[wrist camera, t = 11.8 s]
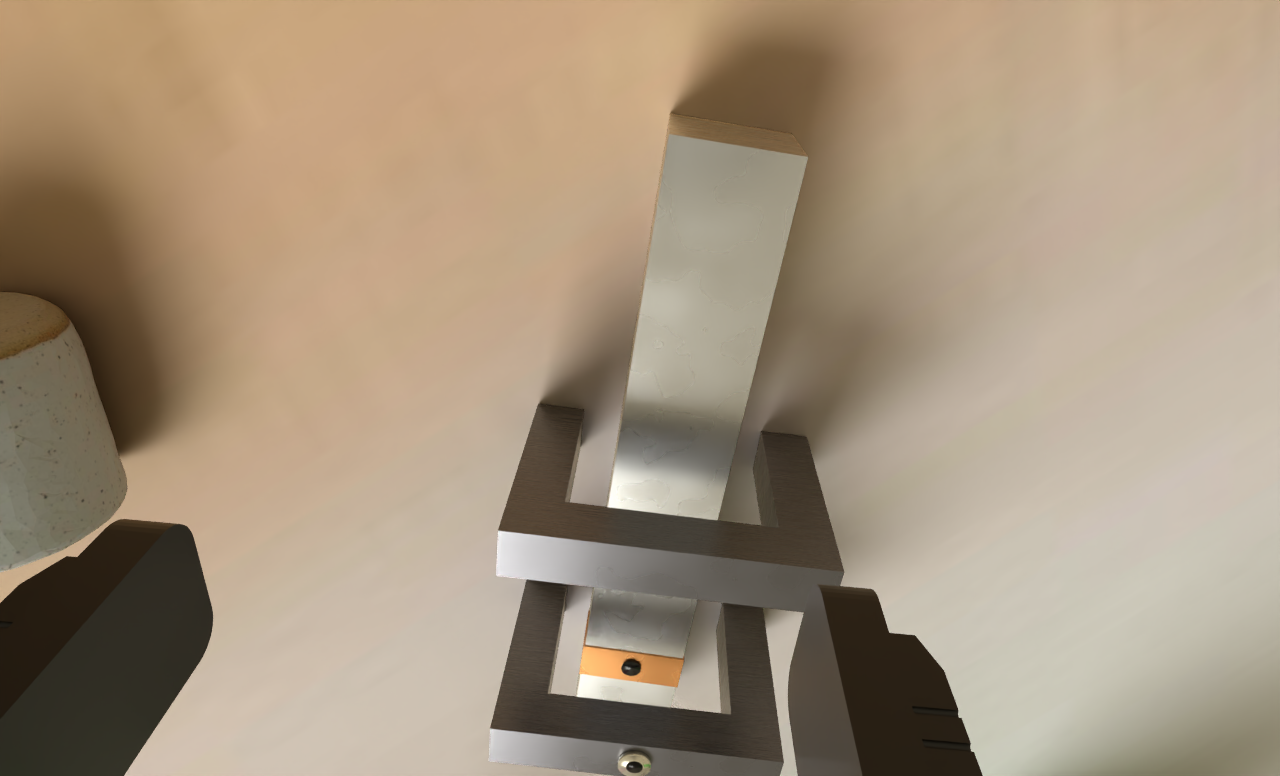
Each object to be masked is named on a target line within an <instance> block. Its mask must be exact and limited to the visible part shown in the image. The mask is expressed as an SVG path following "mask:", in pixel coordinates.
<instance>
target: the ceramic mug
mask: <svg viewBox="0 0 1280 776" xmlns="http://www.w3.org/2000/svg"><path fill="white" fill-rule="evenodd" d="M126 492H127V478H126V474H125V471H124V468H123V465H122V463H121V460H120V458H119V455H118V452H117V448H116V445H115V441H114V437H113V434H112V431H111V428H110V426H109V423H108V420H107V417H106V414H105V411H104V408H103V405H102V402H101V400H100V397H99V394H98V391H97V388H96V385H95V382H94V378H93V374H92V370H91V366H90V363H89V360H88V357H87V354H86V352H85V349H84V346H83V343H82V340H81V339H80V337H79V335H78V333H77V331H76V330H75V328H74V326H73V324H72V323H71V321H70V320H69V318H68V317H67V316H66V314H65V313H64V312H63V311H62V310H61V309H60V308H59V307H57V306H56V305H54V304H52V303H50V302H49V301H47V300H44V299H41V298H39V297H36V296H33V295H27V294H22V293H17V292H0V572H3V571H7V570H11V569H14V568H17V567H21V566H23V565H26V564H29V563H31V562H34V561H36V560H39V559H42V558H44V557H47V556H49V555H52V554H54V553H57V552H59V551H62V550H64V549H65V548H67V547H68V546H70V545H72V544H74V543H76V542H77V541H79V540H81V539H82V538H84V537H85V536H87V535H88V534H90V533H91V532H93V531H94V530H96V529H97V528H99V527H100V526H101V525H103V524H104V523H105V522H107V521H108V520H109V519H110V518H111V517H112V516H113V515H114V513H115V512H116V511H117V510H118V508H119V507H120V506H121V504H122V502H123V500H124V499H125V495H126Z"/></svg>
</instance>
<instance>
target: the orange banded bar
mask: <svg viewBox="0 0 1280 776" xmlns="http://www.w3.org/2000/svg"><path fill="white" fill-rule="evenodd" d="M807 160H808V156H807V155H806V153H805V152H804V150H803V149H802V147H801V146H800V145H799V143H798V142H797V140H796V139H795V138H794V136H793V135H792V133H786V132H780V131H774V130H768V129H762V128H756V127H750V126H744V125H738V124H732V123H725V122H719V121H713V120H707V119H701V118H695V117H689V116H683V115H677V114H671V113H670V116H669V122H668V128H667V134H666V141H665V147H664V153H663V159H662V165H661V171H660V177H659V184H658V190H657V196H656V202H655V208H654V214H653V220H652V227H651V233H650V239H649V245H648V251H647V257H646V264H645V270H644V276H643V282H642V288H641V294H640V300H639V307H638V313H637V319H636V325H635V331H634V337H633V344H632V350H631V356H630V362H629V368H628V374H627V380H626V387H625V393H624V399H623V405H622V411H621V417H620V424H619V430H618V436H617V442H616V448H615V454H614V460H613V467H612V473H611V479H610V485H609V491H608V497H607V504H606V507H611V508H619V509H627V510H636V511H644V512H652V513H660V514H669V515H677V516H685V517H693V518H702V519H710V520H718V516H719V512H720V508H721V504H722V500H723V496H724V492H725V488H726V484H727V480H728V476H729V472H730V468H731V464H732V460H733V456H734V452H735V448H736V444H737V440H738V436H739V432H740V428H741V424H742V420H743V416H744V412H745V408H746V404H747V400H748V396H749V392H750V388H751V384H752V380H753V376H754V372H755V368H756V364H757V360H758V356H759V352H760V348H761V344H762V340H763V336H764V332H765V328H766V324H767V320H768V316H769V312H770V308H771V304H772V300H773V296H774V292H775V288H776V284H777V280H778V276H779V272H780V268H781V264H782V260H783V256H784V252H785V248H786V244H787V240H788V236H789V232H790V228H791V224H792V220H793V216H794V212H795V208H796V204H797V200H798V196H799V192H800V188H801V184H802V180H803V176H804V172H805V168H806V164H807ZM696 604H697V600H696V599H687V598H679V597H670V596H662V595H654V594H645V593H637V592H628V591H620V590H612V589H603V588H595V587H593V590H592V596H591V602H590V608H589V612H588V618H587V624H586V630H585V636H584V643H583V651H582V657H581V663H580V670H579V676H578V683H577V691H576V697H584V698H593V699H601V700H610V701H618V702H627V703H636V704H644V705H653V706H662V707H670V708H671V704H672V700H673V696H674V692H675V688H676V687H677V686H678V682H679V678H680V674H681V670H682V666H683V663H684V652H685V648H686V644H687V640H688V636H689V632H690V628H691V624H692V620H693V616H694V612H695V608H696Z"/></svg>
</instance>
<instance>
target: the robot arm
mask: <svg viewBox="0 0 1280 776" xmlns="http://www.w3.org/2000/svg"><path fill="white" fill-rule="evenodd" d="M212 626H213V611H212V606H211V602H210V598H209V595H208V591H207V587H206V583H205V579H204V575H203V572H202V568H201V564H200V560H199V556H198V553H197V549H196V545H195V541H194V538H193V535H192V533H191V531H190V529H189V528H188V527H187V526H185V525H182V524H173V523H162V522H151V521H140V520H129V519H121V520H118V521H115V522H113V523H112V524H110V525H109V526H108V527H107V528H106V529H104V531H103V532H102V533H101V534H100V535H99V536H98V537H97V538H96V539H95V540H94V541H93V542H92V543H91V544H90V545H89V546H88V547H87V548H86V549H85V550H84V551H83V552H82V553H81V554H80V555H79V556H78V557H69V556H66V557H65V558H63V559H61V560H60V561H58V562H56V563H55V564H53V565H51V566H50V567H48V568H46V569H45V570H43V571H41V572H40V573H38V574H36V575H35V576H33V577H31V578H30V579H28V580H26V581H25V582H23V583H21V584H20V585H18V586H17V587H16V588H15V589H14V590H13V591H12V592H11V593H10V594H9V595H8V596H7V597H6V598H5V599H4V600H3V601H2V602H1V603H0V776H124V774H125V773H126V772H127V770H128V769H129V767H130V766H131V764H132V763H133V761H134V760H135V758H136V757H137V755H138V754H139V752H140V751H141V749H142V748H143V746H144V745H145V743H146V742H147V740H148V739H149V737H150V736H151V734H152V733H153V731H154V730H155V728H156V727H157V725H158V724H159V722H160V721H161V719H162V718H163V716H164V715H165V713H166V712H167V710H168V709H169V707H170V706H171V704H172V703H173V701H174V700H175V698H176V697H177V695H178V694H179V692H180V691H181V689H182V688H183V686H184V685H185V683H186V682H187V680H188V679H189V677H190V676H191V674H192V673H193V671H194V670H195V668H196V667H197V665H198V664H199V662H200V660H201V659H202V657H203V655H204V653H205V651H206V649H207V646H208V643H209V640H210V636H211V632H212ZM788 708H789V718H790V725H791V732H792V739H793V745H794V752H795V759H796V766H797V773H798V776H983V775H982V773H981V770H980V767H979V765H978V762H977V759H976V756H975V754H974V752H971V749H970V744H971V743H970V740H969V737H968V735H967V732H966V729H965V727H964V724H963V721H962V718H959V717H958V708H957V705H956V702H955V699H954V697H953V694H952V691H951V689H950V686H949V683H948V680H947V678H946V675H945V672H944V670H943V669H942V668H941V666H940V665H939V664H938V663H937V662H936V660H935V659H934V658H933V657H932V656H931V654H930V653H929V652H928V651H927V649H926V648H925V647H924V646H923V645H922V643H921V642H920V641H919V640H918V639H917V637H916V636H915V635H905V634H894V633H889V631H888V628H887V624H886V621H885V618H884V615H883V611H882V608H881V605H880V602H879V599H878V596H877V594H876V593H875V591H874V590H872V589H865V588H854V587H843V586H832V585H821V584H814V585H813V586H812V587H811V589H810V592H809V595H808V599H807V603H806V607H805V611H804V614H803V618H802V622H801V626H800V630H799V634H798V638H797V642H796V646H795V649H794V653H793V657H792V661H791V666H790V672H789V681H788Z"/></svg>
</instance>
